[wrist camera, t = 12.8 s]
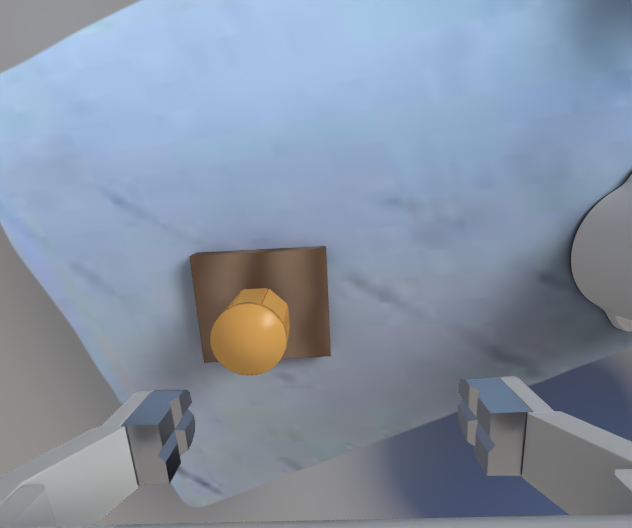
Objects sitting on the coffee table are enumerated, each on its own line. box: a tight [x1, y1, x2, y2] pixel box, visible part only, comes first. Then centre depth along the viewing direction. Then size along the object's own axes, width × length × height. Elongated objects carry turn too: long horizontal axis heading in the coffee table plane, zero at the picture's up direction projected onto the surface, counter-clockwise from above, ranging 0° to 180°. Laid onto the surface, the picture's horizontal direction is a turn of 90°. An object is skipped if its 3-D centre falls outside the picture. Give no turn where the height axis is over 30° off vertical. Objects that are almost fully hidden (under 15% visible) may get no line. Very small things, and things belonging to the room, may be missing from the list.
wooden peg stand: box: [190, 246, 331, 363], centre depth 31 cm, size 14×12×9 cm
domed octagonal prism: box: [210, 288, 290, 375], centre depth 28 cm, size 6×6×5 cm
